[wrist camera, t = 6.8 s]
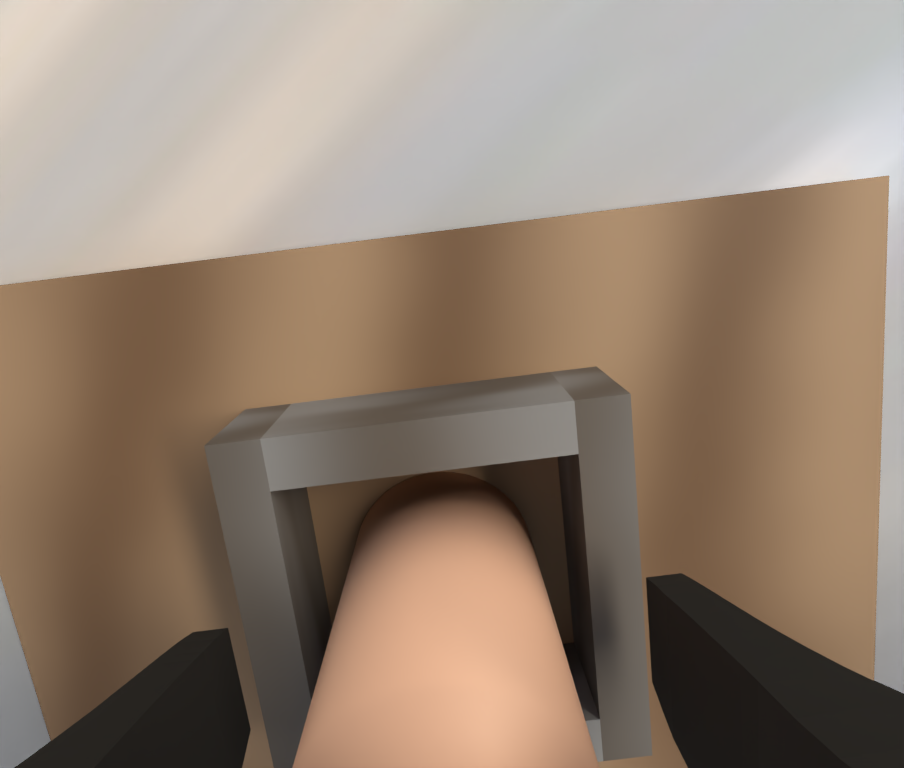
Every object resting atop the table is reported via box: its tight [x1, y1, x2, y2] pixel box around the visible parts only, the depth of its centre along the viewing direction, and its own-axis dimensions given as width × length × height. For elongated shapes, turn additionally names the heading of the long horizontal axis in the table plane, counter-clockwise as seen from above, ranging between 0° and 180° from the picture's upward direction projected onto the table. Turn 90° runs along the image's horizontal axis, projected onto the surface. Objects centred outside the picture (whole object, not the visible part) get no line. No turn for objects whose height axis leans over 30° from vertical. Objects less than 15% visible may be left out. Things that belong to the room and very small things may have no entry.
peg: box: [292, 472, 599, 768], centre depth 11 cm, size 4×4×7 cm
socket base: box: [0, 176, 889, 768], centre depth 14 cm, size 20×14×4 cm
